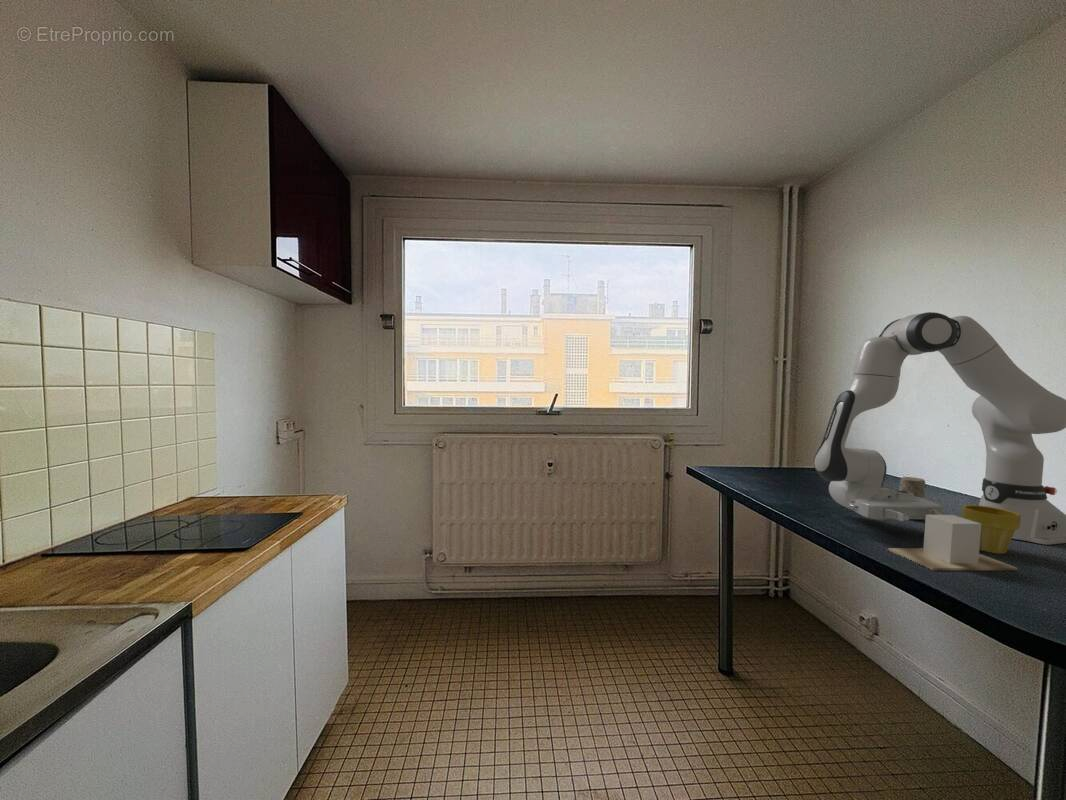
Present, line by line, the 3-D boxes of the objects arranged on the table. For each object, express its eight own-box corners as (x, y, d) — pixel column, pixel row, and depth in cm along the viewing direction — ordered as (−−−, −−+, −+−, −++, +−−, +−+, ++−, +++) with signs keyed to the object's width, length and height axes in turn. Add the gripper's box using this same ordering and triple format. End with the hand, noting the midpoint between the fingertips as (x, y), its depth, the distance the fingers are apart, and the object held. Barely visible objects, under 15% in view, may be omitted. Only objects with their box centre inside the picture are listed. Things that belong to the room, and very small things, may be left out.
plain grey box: (950, 552, 116) (952, 514, 115) (978, 563, 109) (981, 523, 108) (923, 552, 115) (925, 514, 115) (949, 563, 108) (952, 523, 108)
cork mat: (965, 550, 119) (965, 548, 119) (1017, 570, 107) (1017, 568, 107) (887, 550, 117) (887, 548, 117) (932, 570, 105) (932, 568, 105)
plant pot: (993, 543, 125) (996, 505, 124) (1029, 558, 114) (1033, 517, 114) (949, 540, 126) (952, 503, 125) (982, 555, 115) (985, 514, 115)
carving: (922, 516, 148) (925, 477, 147) (925, 522, 141) (928, 481, 141) (896, 513, 151) (898, 474, 150) (898, 518, 145) (901, 478, 144)
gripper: (844, 491, 132) (884, 505, 118) (914, 492, 133) (963, 505, 119) (842, 514, 132) (883, 530, 118) (913, 514, 134) (961, 531, 120)
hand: (924, 518), depth 119 cm, fingers open, 8 cm apart
